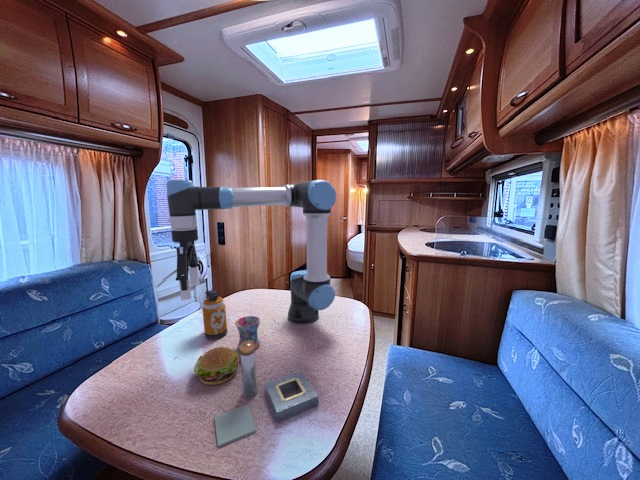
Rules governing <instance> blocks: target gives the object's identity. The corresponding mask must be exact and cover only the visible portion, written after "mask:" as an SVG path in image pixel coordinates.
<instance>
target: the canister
mask: <svg viewBox="0 0 640 480" xmlns="http://www.w3.org/2000/svg"><path fill="white" fill-rule="evenodd" d="M204 294H205V297H203V298H202V301H203V303H202V304H203V307H202V308H201V309H202V318H203V329H204V337H205V338H206V339H211V340H212V339H219V338H221V337H223V336H225V335H226V334H227V333H228V324H227V312H226V304H225V303H224V301H225V300H224V298H222V296H220V294H219V293H218V291H216V290H215V289H214V288H211V290H209V289H207V290H206V291H205V292H204Z"/></svg>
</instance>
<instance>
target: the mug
mask: <svg viewBox="0 0 640 480" xmlns="http://www.w3.org/2000/svg"><path fill="white" fill-rule="evenodd" d="M260 323H261V319H260V317H258V316H255V315H248V316H243V317H240V318H238V319H237V320H235V323H234V325H235V327H236V328H237V331H238V335H239V340H238V344H237V348H238V349H239V350H240V343H241V342H243V341H245V340H252V341H254V344H255V349H257V348H258V347H259V346H260V344H261V340H260V339H259V337H258V329H259V326H260Z"/></svg>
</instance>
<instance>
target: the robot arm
mask: <svg viewBox="0 0 640 480" xmlns="http://www.w3.org/2000/svg"><path fill="white" fill-rule="evenodd" d="M166 197H167V204H168V205H167V206H168V213H169V219H168V221H167V222H168V223H170V228H171V229H172V230H171V231H170V232H171V241H172V242H173V243H175V244H176V243H177V244H178V243H179V246H178V247H176V277H175V281H176V282H177V281H178V283H179V291H180V300H181V301H187V300H188V301H189V300H192V293H191V287H192V286H194V287H195V286H199V285H200V280H199V270H198V268H199V267H200V266H201V265H200V263H199V259H198V255H197V251H196V250H197V249H196V246H195V245H196V244H195V242H196V241H198V240H199V233H198V229H197V228H198V218H197V213H196V212H197V211H205V210H208V211H209V210H211V211H212V210H213V211H214V210H228V209H229V210H230V209H232V208H241V207H242V208H243V207H259V206H260V207H265V206H282V205H283V206H285V207H287V208H288V207H290V208H291V207H294V208H301V209H302V215H303V216H305V218H306V269H304V270H297V271H293V272H291V274H290V277H289V278H290V279H289V283H290V286H289V287H290V305H289V308H288V312H287V319H288V321H289V322H291V323H293V324H297V325H306V324H312V323H314V322H316V321H317V320H318V319H319V318H320V313H319V311H325V310H326V309H328V308H329V307H330V306H331V305H332V304H333V303H334V301H335V297H336V291H335V289H334V288H333V286H332V285H331V276H330V275H329V274H328V272H327V271H328V267H327V266H328V218H329V216H331V214H332V208H333V207H334V205H335V204H336V201H337V192H336V189H335V187H334V186H333V184H331V183H330V181H327V180H324V179H323V180H322V179H315V180H310V181H309V180H308V181H302V182H298V183H292V184H284V185H283V186H275V187H274V186H273V187H272V186H269V187H268V186H267V187H266V186H265V187H261V186H259V187H257V186H256V187H229V186H195V185H194V181H192V180H189V179H169V180H168V181H167V182H166Z"/></svg>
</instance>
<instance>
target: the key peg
mask: <svg viewBox="0 0 640 480" xmlns="http://www.w3.org/2000/svg"><path fill="white" fill-rule="evenodd" d="M255 351H256V348H255V344H254V341H252V340H245V341H243V342H241V343H240V349H239V354H240V363H241V364H240V366H241V367H240V369H241V377H242V378H241V379H242V381H241V382H242V391H243V392H242V393H243V394H242V395H243V396H244V398H247V399H248V398H253V397H255V396H256V395H257V393H258V385H257V367H256V352H255Z"/></svg>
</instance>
